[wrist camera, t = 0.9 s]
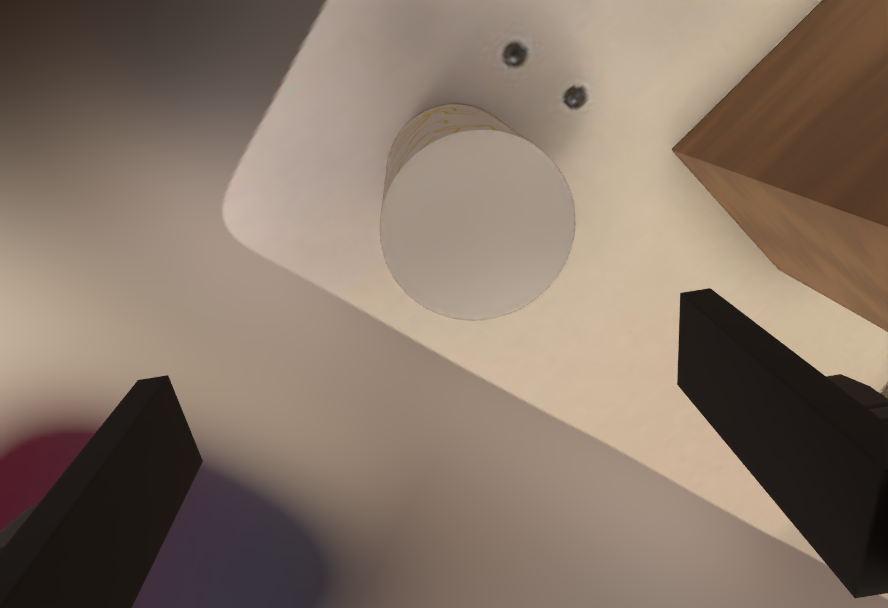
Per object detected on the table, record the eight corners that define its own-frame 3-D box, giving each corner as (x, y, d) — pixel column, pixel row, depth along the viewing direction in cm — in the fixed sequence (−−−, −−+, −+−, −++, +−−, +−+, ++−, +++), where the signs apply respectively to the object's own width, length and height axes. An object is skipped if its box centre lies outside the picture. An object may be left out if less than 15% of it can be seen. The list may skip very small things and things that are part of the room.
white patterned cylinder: (463, 73, 32) (495, 83, 21) (546, 181, 35) (612, 240, 24) (358, 167, 34) (337, 222, 23) (445, 263, 37) (464, 353, 26)
